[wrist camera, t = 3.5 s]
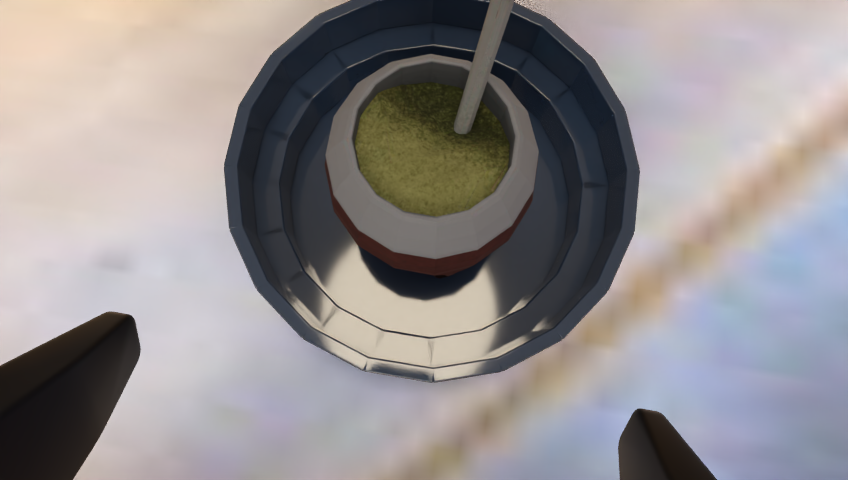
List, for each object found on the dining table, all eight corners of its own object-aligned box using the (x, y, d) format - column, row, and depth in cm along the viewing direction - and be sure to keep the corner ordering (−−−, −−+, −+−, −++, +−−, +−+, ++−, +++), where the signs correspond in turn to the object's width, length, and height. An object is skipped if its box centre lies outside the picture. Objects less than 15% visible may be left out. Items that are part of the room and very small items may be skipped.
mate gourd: (363, 305, 23) (276, 223, 8) (327, 130, 24) (198, -203, 10) (536, 266, 23) (744, 122, 9) (491, 96, 25) (602, -269, 10)
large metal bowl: (429, 454, 22) (433, 478, 18) (185, 196, 24) (139, 164, 20) (670, 201, 24) (722, 170, 20) (430, -17, 26) (433, -85, 22)
